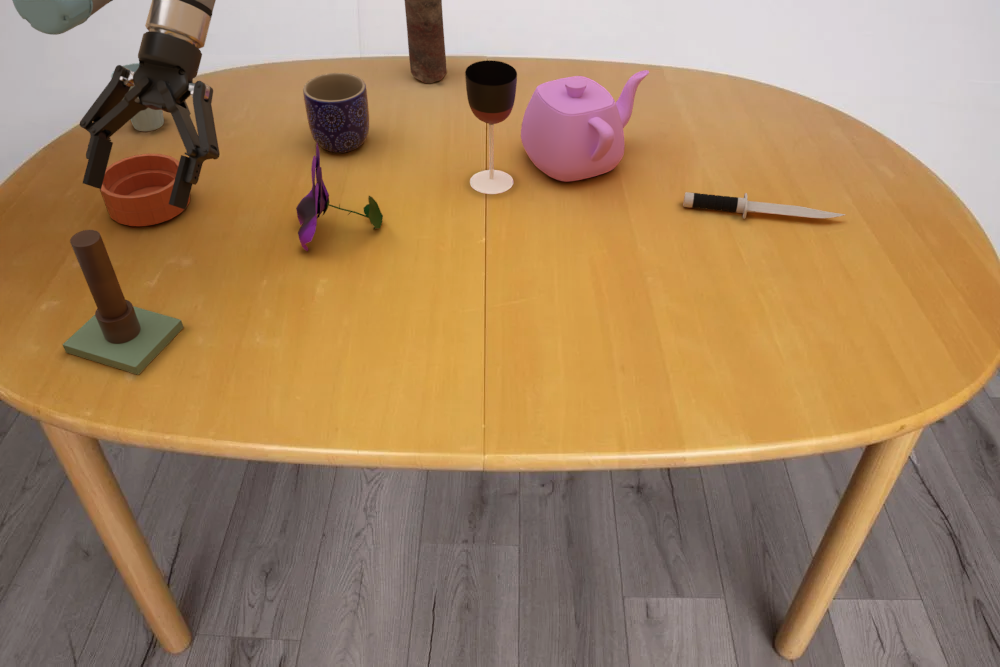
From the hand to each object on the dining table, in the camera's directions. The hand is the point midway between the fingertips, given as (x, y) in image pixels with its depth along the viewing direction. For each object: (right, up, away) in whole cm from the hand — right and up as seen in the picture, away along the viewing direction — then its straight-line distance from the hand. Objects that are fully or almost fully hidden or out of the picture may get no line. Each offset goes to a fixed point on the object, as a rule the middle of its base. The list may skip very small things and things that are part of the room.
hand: (133, 196), depth 115 cm
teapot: (+61, +13, +40) cm, 75 cm away
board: (-3, -19, +6) cm, 20 cm away
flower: (+23, -2, +24) cm, 34 cm away
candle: (+34, +35, +64) cm, 80 cm away
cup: (-18, +21, +49) cm, 56 cm away
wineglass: (+47, +8, +35) cm, 59 cm away
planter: (+20, +16, +44) cm, 51 cm away
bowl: (-9, +3, +29) cm, 31 cm away
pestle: (-3, -18, +5) cm, 19 cm away
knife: (+91, +1, +28) cm, 96 cm away
